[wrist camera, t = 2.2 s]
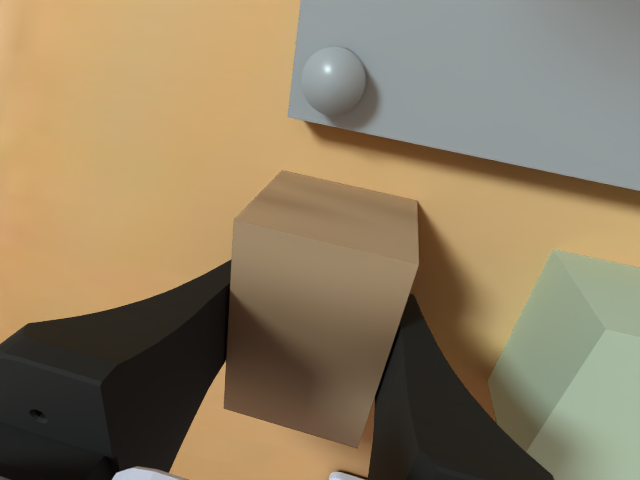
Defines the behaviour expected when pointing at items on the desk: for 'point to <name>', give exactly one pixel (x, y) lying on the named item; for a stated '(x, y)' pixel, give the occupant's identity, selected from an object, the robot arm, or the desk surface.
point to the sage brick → (575, 371)
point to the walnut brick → (316, 302)
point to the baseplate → (480, 79)
